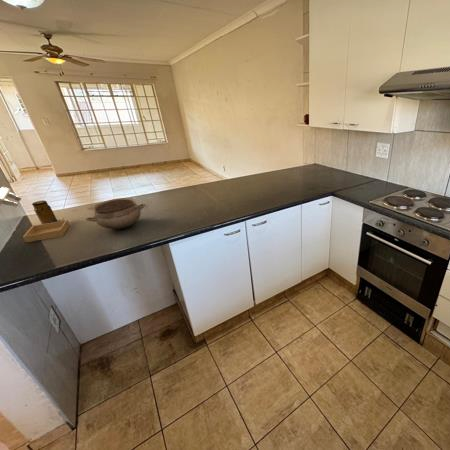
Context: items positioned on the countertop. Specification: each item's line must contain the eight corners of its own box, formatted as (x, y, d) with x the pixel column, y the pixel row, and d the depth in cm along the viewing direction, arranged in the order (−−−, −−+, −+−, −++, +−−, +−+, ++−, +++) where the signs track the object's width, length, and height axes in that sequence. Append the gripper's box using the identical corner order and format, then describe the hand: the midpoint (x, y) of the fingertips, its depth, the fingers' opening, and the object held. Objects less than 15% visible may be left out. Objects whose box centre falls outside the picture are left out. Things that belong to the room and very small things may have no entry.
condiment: (41, 223, 129) (29, 201, 124) (62, 218, 134) (52, 197, 129) (41, 227, 124) (29, 206, 119) (63, 222, 130) (52, 201, 124)
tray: (26, 242, 112) (22, 236, 110) (35, 231, 121) (32, 225, 120) (63, 235, 117) (60, 229, 116) (69, 225, 127) (67, 219, 125)
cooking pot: (97, 242, 112) (86, 218, 106) (89, 228, 123) (79, 206, 118) (155, 224, 128) (148, 202, 122) (143, 213, 139) (137, 193, 134)
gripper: (-25, 187, 103) (20, 203, 113) (-14, 176, 117) (25, 191, 127) (-35, 199, 103) (11, 214, 113) (-22, 187, 117) (18, 201, 127)
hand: (19, 202), depth 120 cm, fingers open, 8 cm apart
